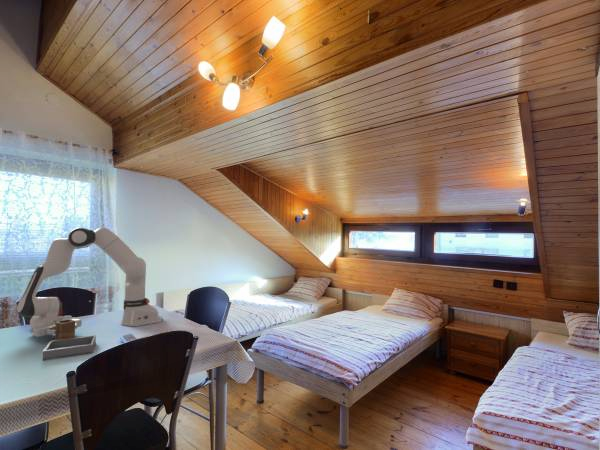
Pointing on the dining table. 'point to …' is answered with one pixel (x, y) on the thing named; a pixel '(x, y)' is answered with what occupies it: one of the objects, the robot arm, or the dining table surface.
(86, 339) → the grey crate
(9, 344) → the dining table surface
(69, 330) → the walnut crate
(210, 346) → the dining table surface
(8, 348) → the dining table surface
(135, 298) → the robot arm
